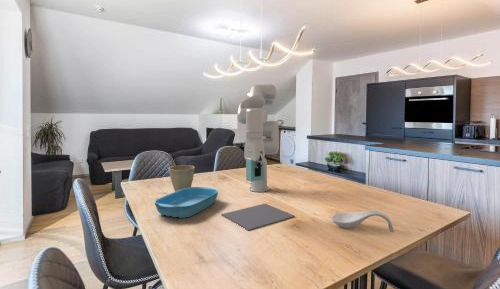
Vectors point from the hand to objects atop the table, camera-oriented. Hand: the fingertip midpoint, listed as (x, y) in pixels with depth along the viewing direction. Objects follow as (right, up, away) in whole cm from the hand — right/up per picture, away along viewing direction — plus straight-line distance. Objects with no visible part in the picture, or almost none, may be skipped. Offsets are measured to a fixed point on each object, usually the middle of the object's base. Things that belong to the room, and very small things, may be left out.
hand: (254, 175), depth 132 cm
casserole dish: (-33, -19, +13) cm, 40 cm away
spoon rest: (+44, -21, -13) cm, 50 cm away
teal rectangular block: (0, -2, 0) cm, 2 cm away
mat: (+1, -19, 0) cm, 19 cm away
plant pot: (-42, -16, +38) cm, 59 cm away
